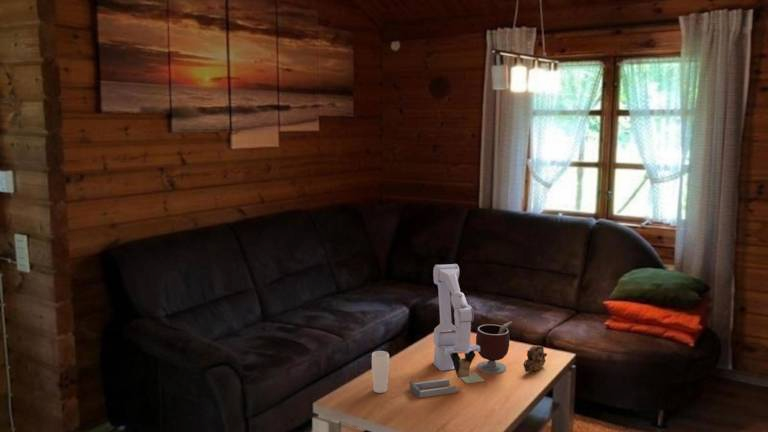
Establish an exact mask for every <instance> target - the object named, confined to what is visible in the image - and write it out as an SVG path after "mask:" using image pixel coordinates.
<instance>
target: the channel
mask: <svg viewBox="0 0 768 432" xmlns="http://www.w3.org/2000/svg"><path fill="white" fill-rule="evenodd" d="M450 381H451V380H450V378H443V379H436V380H429V381H427V380H426V381H420V382H414V381H413V380H411V381H409V390H410V391H411V392H412V393H413V395H414V396H415V397H416V399H417V398H418V399H419V398H427V397H432V396H434V397H435V396H440V395H445V394H454V393H457V392H458V386H457V385H451V386H450Z"/></svg>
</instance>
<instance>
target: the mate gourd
mask: <svg viewBox="0 0 768 432" xmlns="http://www.w3.org/2000/svg"><path fill="white" fill-rule="evenodd" d="M511 324H513V321H508V322H507V323H504V324H503V325H501V324H500V325H499V324H493V323H492V324H482V325H479V326H478V327H477V331H476V336H475V345H478V346H480V352H478V355H479V356H480V357H481V358H482V359H485V360H483V361H479V362H478V363H477V365H476V369H477V370H478V371H480V372H482V373H485V374H490V375H498V374H503V373H505V372H506V371H507V366H506V365H505V364H504V363H502V362H499V361H501V360H503V359H504V358H505V357H506V356H507V355H508V352H509V348H510V332H509V329H508V327H509V325H511Z"/></svg>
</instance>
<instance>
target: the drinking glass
mask: <svg viewBox="0 0 768 432" xmlns="http://www.w3.org/2000/svg"><path fill="white" fill-rule="evenodd" d="M389 369H390V354H389V352H388V351H384V350H377V351H373V352H372V353H371V374H372V388H373V391H374V392H375V393H377V394H383V393H386V392H387V390H388V380H389Z"/></svg>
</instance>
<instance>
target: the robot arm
mask: <svg viewBox="0 0 768 432" xmlns="http://www.w3.org/2000/svg"><path fill="white" fill-rule="evenodd" d="M432 272H433V274H432V277H433V283H434V284H435V285H437V289H438V290H437V291H438V305H439V306H438V308H439V324H438V325H437V326H436V327H434V329H433V330H434V331H433V343H434V345H435V347H434V349H433V350H434V355H433V360H434V361H432V362H431V363H432V364H433V365H434V366H435V367H436V368H437V369H438V370H439V371H441V372H442V371H450V370H454V371H455V373H456V372H458V370H459V360H460V359H461V357H460V356H459V354H464V358H466V359H467V360H468V361H469V362H470V366H471V365H472V362H473V361H474V359H475V357H476V352H480V346H478V345H476V344H475V345H472V344H471V334H472V333H471V330H472V328H471V327H472V322H474V318H475V317H474V316H475V315H474V313H475V312H474V309H473V307H472V306H471V305H470V304H468V302H467V299H466V296H465V294H464V292H461V288H460V284H459V277H460V267H459V265H458V264H457V263H452V264H448V263H447V264H435V265H434V267H433V271H432ZM451 307H453V317H454V324H453V323H452V322H453V321H452V308H451Z"/></svg>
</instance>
